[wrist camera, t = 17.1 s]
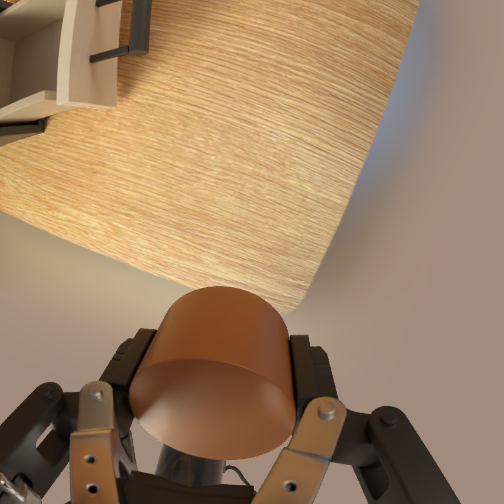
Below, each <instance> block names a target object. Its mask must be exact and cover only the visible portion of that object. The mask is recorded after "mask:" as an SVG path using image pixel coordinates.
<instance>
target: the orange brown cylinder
mask: <svg viewBox="0 0 504 504" xmlns="http://www.w3.org/2000/svg"><path fill="white" fill-rule="evenodd" d="M129 403H130V406H131V409H132V412H133V414H134V416H135V417H136V419H137V420H138V422H139V423H140V424H141V425H142V426H143V427H144V428H145V429H146V430H147V431H148V432H149V433H150V434H151V435H153V436H154V437H155V438H156V439H158V440H160V441H161V442H163V443H164V444H166V445H168V446H170V447H172V448H174V449H176V450H179V451H181V452H184V453H187V454H190V455H194V456H198V457H202V458H208V459H216V460H238V459H246V458H251V457H255V456H259V455H262V454H265V453H267V452H270V451H272V450H273V449H275V448H277V447H278V446H280V445H281V444H282V443H283V442H285V441H286V440H287V439H288V438H289V436H290V435H291V434H292V432H293V430H294V428H295V425H296V420H297V412H296V403H295V393H294V383H293V373H292V363H291V353H290V344H289V335H288V330H287V327H286V325H285V323H284V321H283V319H282V317H281V316H280V314H279V313H278V312H277V311H276V310H275V309H274V308H273V307H272V306H271V305H270V304H269V303H268V302H266V301H265V300H264V299H262V298H260V297H259V296H257V295H255V294H252V293H250V292H248V291H245V290H242V289H238V288H233V287H224V286H214V287H206V288H201V289H198V290H194V291H192V292H190V293H187V294H185V295H184V296H182V297H181V298H179V299H178V300H177V301H176V302H175V303H174V304H173V305H172V306H171V307H170V308H169V310H168V312H167V313H166V315H165V317H164V319H163V321H162V323H161V325H160V327H159V328H158V330H157V332H156V334H155V336H154V338H153V340H152V342H151V344H150V346H149V348H148V350H147V352H146V354H145V356H144V358H143V360H142V362H141V364H140V366H139V368H138V370H137V372H136V374H135V376H134V378H133V380H132V382H131V385H130V388H129Z"/></svg>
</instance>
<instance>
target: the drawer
mask: <svg viewBox="0 0 504 504" xmlns="http://www.w3.org/2000/svg"><path fill="white" fill-rule="evenodd" d="M122 1H123V0H20V1H18V2H17V3H15V4H13V5H12V6H10V7H9V8H7V9H6V10H4V11H3V12H1V13H0V127H9V126H21V125H23V124H26V123H29V122H32V121H35V120H38V119H41V118H44V117H47V116H51V115H54V114H57V113H61V112H64V111H68V110H71V109H75V108H79V107H86V108H96V109H104V110H108V109H113V108H117V64H118V57H119V56H123V55H128V54H129V55H131V56H142V55H146V54H148V52H149V33H150V17H151V5H152V0H133V4H132V13H131V25H130V39H129V46H124V47H120V48H118V44H119V30H120V19H121V10H122Z"/></svg>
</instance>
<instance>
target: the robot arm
mask: <svg viewBox="0 0 504 504" xmlns="http://www.w3.org/2000/svg"><path fill="white" fill-rule="evenodd" d="M156 332H157V330H155V329H144V328H140V329H139V330H138V332H137V333H136V335H135V337H134V339H132V338H129V339H127V340H126V341H125V342H123V343H122V344H121V345H120V346H119V348H118V349H117V351H116V354H114V356H113V358H112V360H111V361H110V362H109V364H108V366H107V367H106V369H105V371H104V372H103V374H102V376H101V377H100V379H99V381H93V382H90V383H88V384H86V385H85V386H84V387H83V388H82V389H81V391H80V392H63V390H62V388H61V387H60V386H59V385H58V384H57V383H54V382H47V383H43V384H42V385H40V386H38V387H37V388H36V389H35V390H34V391H33V392H32V393H31V394H30V395H29V396H28V397H27V398H26V399H25V400H24V401H23V402H22V403H21V404H20V405H19V406H18V407H17V409H15V410H14V412H13V413H12V414H11V415H10V416H9V417H8V418H7V419H6V420H5V421H4V422H3V423H2V424H1V426H0V504H42V501H41V499H42V498H43V497H44V495H45V494H46V493H47V491H48V490H49V488H50V487H51V486H52V484H53V483H54V482H55V480H56V479H57V477H58V476H59V475H60V473H61V472H62V471H63V469H64V468H65V466H66V465H67V464H68V462H69V461H70V496H71V501H69V502H67V503H65V504H313V502H314V500H315V498H316V495H317V493H318V491H319V489H320V486H321V484H322V481H323V479H324V476H325V474H326V471H327V469H328V466H329V463H330V462H335V463H341V464H347V465H352V467H353V469H354V472H355V474H356V476H357V479H358V481H359V483H360V485H361V488H362V490H363V492H364V495H365V497H366V499H367V502H368V504H461V503H460V501H459V500H458V498H457V496H456V495H455V493H454V491H453V490H452V488H451V487H450V485H449V483H448V482H447V480H446V478H445V477H444V475H443V474H442V472H441V470H440V469H439V467H438V465H437V464H436V462H435V461H434V459H433V457H432V456H431V454H430V453H429V451H428V450H427V448H426V446H425V445H424V443H423V442H422V440H421V439H420V437H419V435H418V434H417V433H416V431H415V429H414V428H413V426H412V425H411V423H410V422H409V420H408V418H407V417H406V415H405V414H404V413H403V412H402V411H401V410H399V409H398V408H395V407H391V406H382V407H379V408H377V409H375V410H374V411H373V412H372V413H371V414H365V413H358V412H354V411H351V410H349V409H347V408H346V407H345V405H344V404H343V403H342V402H341V401H339V399H338V396H337V392H336V387H335V383H334V379H333V375H332V372H331V367H330V365H329V359H328V356H327V354H326V352H325V351H324V350H323V349H322V348H321V347H320V346H317V347H310V342H309V337H308V335H290V340H289V344H290V353H291V363H292V373H293V383H294V393H295V403H296V412H297V420H296V425H295V428H294V430H293V432H292V438H291V440H290V442H289V444H288V446H287V447H284V448H283V449H282V451H281V452H280V454H279V456H278V458H277V460H276V462H275V464H274V465H273V467H272V469H271V470H270V472H269V474H268V476H267V478H266V479H265V481H264V483H263V484H262V486H261V488H260V489H259V491H258V493H257V492H256V491H255V490H254V486H251V485H250V484H249V483H248V482H247V481H246V479H245V478H244V477H243V475H242V473H241V472H240V471H239V470H238V468H236V467H234V466H230V465H229V466H226V460H216V459H208V458H202V457H198V456H194V455H190V454H187V453H184V452H181V451H179V450H176V449H174V448H172V447H170V446H168V445H166V444H164V443H163V446H162V450H161V453H160V457H159V460H158V464H157V468H156V471H155V475H153V474H148V473H144V472H139V471H138V469H137V465H136V459H135V453H134V446H133V439H132V433H131V430H130V427H131V424H132V423H138V424H140V423H139V422H138V420H137V419H136V417H135V416H134V414H133V412H132V409H131V406H130V403H129V388H130V385H131V382H132V380H133V378H134V376H135V374H136V372H137V370H138V368H139V366H140V364H141V362H142V360H143V358H144V356H145V354H146V352H147V350H148V348H149V346H150V344H151V342H152V340H153V338H154V336H155V334H156ZM49 425H50V426H51V428H52V430H51V431H50V433H49V434H48V435H47V436H46V438H45V439H44V440H43V441H42V442H41V444H40V445H39V446H38V447H37V448H36V441H37V439H38V438H39V437H40V435H41V434H42V433H43V432H44V431H45V430H46V428H47V427H48V426H49ZM228 469H232V470H234V471H236V472H237V474H238V475H239V477H240V478H241V480H242V481H243V482H244V483H245V484H246V485H228V484H221V482H222V473H225V471H226V470H228Z"/></svg>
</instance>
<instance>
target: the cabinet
mask: <svg viewBox="0 0 504 504" xmlns="http://www.w3.org/2000/svg"><path fill="white" fill-rule="evenodd" d="M12 5H13V4H12V3H9V2H6V1H3V0H0V13H1V12H3V11H4V10H6V9H7V8H9V7H10V6H12ZM43 132H44V118H41V119H38V120H35V121H32V122H29V123H26V124H23V125H21V126H9V127H0V146H3V145H6V144H9V143H11V142H14V141H17V140H20V139H23V138H27V137H30V136H33V135H36V134H40V133H43Z"/></svg>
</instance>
